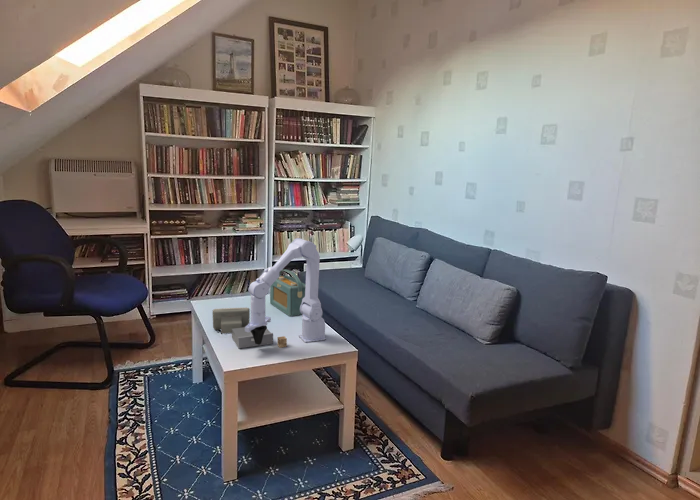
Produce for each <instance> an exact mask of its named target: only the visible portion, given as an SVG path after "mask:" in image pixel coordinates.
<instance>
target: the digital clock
mask: <svg viewBox="0 0 700 500" xmlns="http://www.w3.org/2000/svg"><path fill="white" fill-rule="evenodd" d="M250 322H251V308H249V307H225V308H224V307H223V308H214V309H213V310H212V328H213V329H214V330H219V331H220V334H232V329H235V328H243V327H246V326H247V325H248V324H249V323H250Z"/></svg>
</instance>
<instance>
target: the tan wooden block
mask: <svg viewBox="0 0 700 500" xmlns="http://www.w3.org/2000/svg"><path fill="white" fill-rule="evenodd" d="M276 339H277V346H278V347H279V348H281V349H282V348H287V347H288V346H287V345H288V340H287V338H286V336H284V335H283V336H277V338H276Z"/></svg>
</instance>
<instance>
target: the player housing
mask: <svg viewBox="0 0 700 500" xmlns="http://www.w3.org/2000/svg"><path fill="white" fill-rule="evenodd" d="M267 333H271V332H270V330H269V329H268V328H267V329H266V331H265V333H264V334H267ZM244 336H252V333H251V331H250V332H245V327H243V328H235V329H232V333H231V339H232V341H233V342H234V344H235V345H236V347H238V337H244Z"/></svg>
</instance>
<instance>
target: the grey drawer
mask: <svg viewBox="0 0 700 500" xmlns="http://www.w3.org/2000/svg"><path fill="white" fill-rule="evenodd" d="M273 344H274V333H273V332H270V333H267V334H264V335H263V339H262V342H261V344H260V345H258V344H255V341H254V337H253V335H252V336H244V337H238V346H237V348H238V349H244V348H250V347H259V346H265V345H273Z"/></svg>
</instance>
